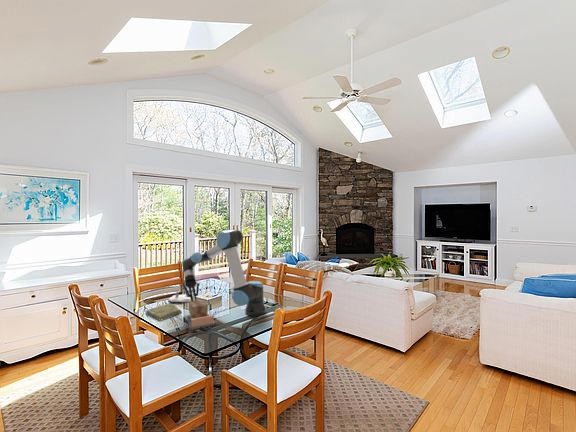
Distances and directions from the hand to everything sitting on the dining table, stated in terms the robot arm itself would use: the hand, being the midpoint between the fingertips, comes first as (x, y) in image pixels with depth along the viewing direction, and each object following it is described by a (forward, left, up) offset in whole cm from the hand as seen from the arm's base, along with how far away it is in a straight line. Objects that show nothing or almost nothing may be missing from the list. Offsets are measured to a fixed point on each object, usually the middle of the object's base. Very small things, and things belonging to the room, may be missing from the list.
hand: (194, 304), depth 229 cm
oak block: (0, +12, -5) cm, 13 cm away
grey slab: (0, +15, -7) cm, 16 cm away
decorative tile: (+19, -12, -8) cm, 24 cm away
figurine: (+3, -35, -8) cm, 36 cm away
